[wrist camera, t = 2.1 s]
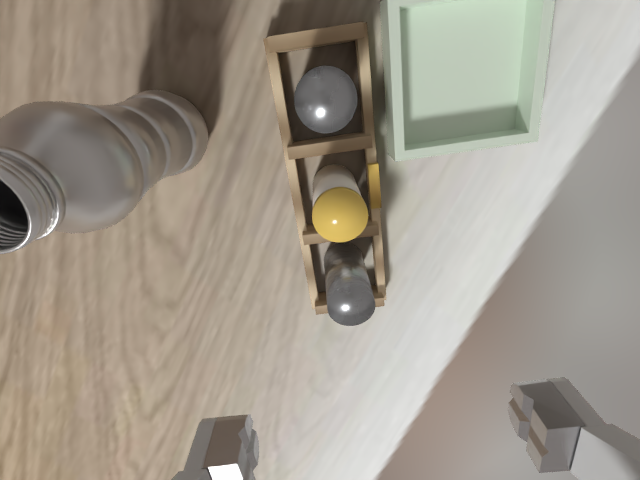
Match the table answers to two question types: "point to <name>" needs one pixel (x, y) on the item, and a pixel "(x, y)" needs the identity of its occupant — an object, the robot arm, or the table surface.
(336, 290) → the canister
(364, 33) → the rack
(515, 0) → the tray
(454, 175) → the table surface
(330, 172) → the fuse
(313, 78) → the canister
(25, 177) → the plastic bottle
